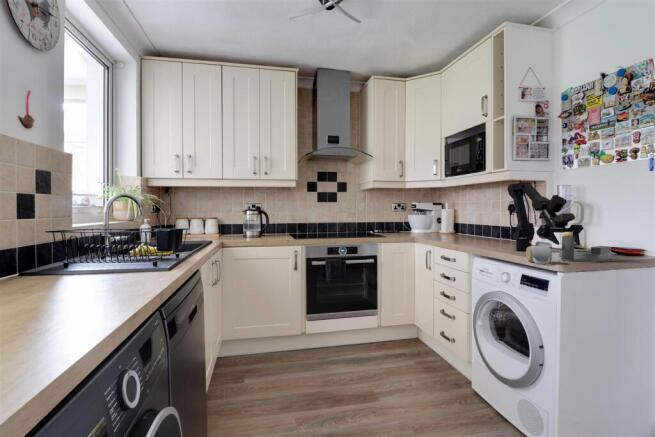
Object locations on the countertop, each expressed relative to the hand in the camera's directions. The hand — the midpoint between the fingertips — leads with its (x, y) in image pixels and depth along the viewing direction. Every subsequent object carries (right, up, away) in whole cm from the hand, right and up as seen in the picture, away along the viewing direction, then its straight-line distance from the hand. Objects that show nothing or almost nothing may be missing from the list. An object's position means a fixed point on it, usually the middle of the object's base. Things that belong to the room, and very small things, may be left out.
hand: (568, 244), depth 140 cm
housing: (+14, -7, +9) cm, 19 cm away
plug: (0, -8, +1) cm, 8 cm away
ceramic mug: (-16, -8, -4) cm, 18 cm away
